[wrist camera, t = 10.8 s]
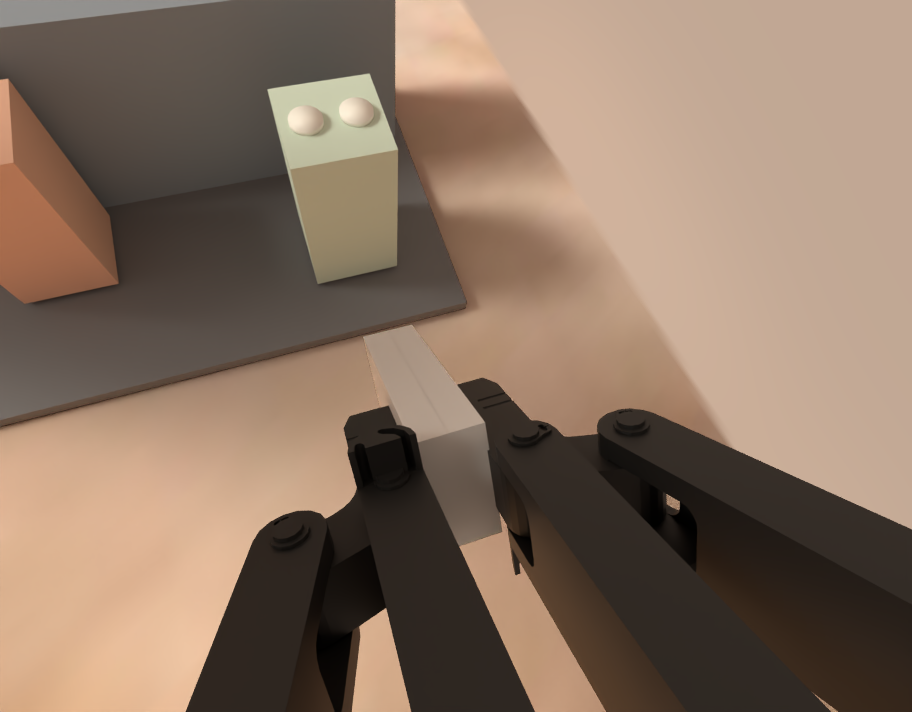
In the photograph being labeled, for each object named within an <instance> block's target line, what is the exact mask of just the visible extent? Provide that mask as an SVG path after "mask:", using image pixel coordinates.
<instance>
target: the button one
mask: <svg viewBox="0 0 912 712" xmlns="http://www.w3.org/2000/svg"><path fill="white" fill-rule="evenodd" d="M115 284H119V281H118V274H117V267H116V259H115V252H114V244H113V237H112V229H111V222H110V215H109V214H108V213H107V211H106V210H105V209H104V207H103V206H102V205H101V203H100V202H99V201H98V199H97V198H96V197H95V195H94V194H93V193H92V191H91V190H90V188H89V187H88V186H87V184H86V183H85V182H84V180H83V179H82V178H81V176H80V175H79V174H78V172H77V171H76V170H75V168H74V167H73V165H72V164H71V163H70V161H69V160H68V159H67V157H66V156H65V155H64V153H63V152H62V151H61V149H60V148H59V147H58V145H57V144H56V143H55V141H54V140H53V138H52V137H51V136H50V134H49V133H48V132H47V130H46V129H45V128H44V126H43V125H42V124H41V122H40V121H39V120H38V118H37V117H36V116H35V114H34V113H33V111H32V110H31V109H30V107H29V106H28V105H27V103H26V102H25V101H24V99H23V98H22V97H21V95H20V94H19V93H18V91H17V90H16V89H15V87H14V86H13V84H12V83H11V82H10V80H9V79H2V80H0V285H1V286H3V287H4V288H5V289H6V290H8V291H9V292H10V293H11V294H13V295H14V296H15V297H16V298H18V299H19V300H20V301H21V302H23V303H24V304H26V303H31V302H36V301H40V300H45V299H50V298H54V297H59V296H64V295H68V294H73V293H78V292H82V291H87V290H92V289H96V288H101V287H106V286H110V285H115Z"/></svg>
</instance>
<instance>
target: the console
mask: <svg viewBox="0 0 912 712" xmlns="http://www.w3.org/2000/svg"><path fill="white" fill-rule="evenodd" d="M363 74H370V76H371V79H372V82H373V84H374V87H375V90H376V92H377V95H378V98H379V100H380V103H381V106H382V108H383V111H384V114H385V116H386V119H387V122H388V124H389V127H390V130H391V132H392V135H393V138H394V140H395V143H396V146H397V148H398V210H397V266H394V267H390V268H385V269H381V270H377V271H372V272H368V273H364V274H359V275H355V276H351V277H346V278H342V279H338V280H333V281H329V282H325V283H320V284H318V283H317V279H316V276H315V272H314V269H313V265H312V262H311V258H310V254H309V251H308V247H307V244H306V240H305V237H304V233H303V229H302V226H301V222H300V219H299V215H298V211H297V207H296V203H295V199H294V195H293V191H292V187H291V183H290V179H289V175H288V170H287V166H286V162H285V158H284V154H283V150H282V146H281V142H280V138H279V134H278V130H277V126H276V122H275V118H274V114H273V110H272V106H271V102H270V98H269V94H268V90H267V89H272V88H278V87H285V86H291V85H298V84H304V83H311V82H317V81H324V80H331V79H337V78H344V77H350V76H357V75H363ZM2 79H9V80H10V82H11V83H12V84H13V86H14V87H15V89H16V90H17V91H18V93H19V94H20V95H21V97H22V98H23V99H24V101H25V102H26V103H27V105H28V106H29V107H30V109H31V110H32V111H33V113H34V114H35V116H36V117H37V118H38V120H39V121H40V122H41V124H42V125H43V126H44V128H45V129H46V130H47V132H48V133H49V134H50V136H51V137H52V138H53V140H54V141H55V143H56V144H57V145H58V147H59V148H60V149H61V151H62V152H63V153H64V155H65V156H66V157H67V159H68V160H69V161H70V163H71V164H72V165H73V167H74V168H75V170H76V171H77V172H78V174H79V175H80V176H81V178H82V179H83V180H84V182H85V183H86V184H87V186H88V187H89V188H90V190H91V191H92V193H93V194H94V195H95V197H96V198H97V199H98V201H99V202H100V203H101V205H102V206H103V207H104V209H105V210H106V211H107V213H108V214H109V215H110V222H111V229H112V237H113V244H114V252H115V259H116V267H117V274H118V281H119V284H115V285H110V286H106V287H101V288H96V289H92V290H87V291H82V292H78V293H73V294H68V295H64V296H59V297H54V298H50V299H45V300H40V301H36V302H31V303H26V304H24V303H23V302H21V301H20V300H19V299H18V298H16V297H15V296H14V295H13V294H11V293H10V292H9V291H8V290H6V289H5V288H4V287H3V286H1V285H0V427H1V426H5V425H9V424H13V423H17V422H20V421H24V420H28V419H32V418H36V417H40V416H44V415H48V414H52V413H56V412H60V411H64V410H68V409H72V408H75V407H79V406H83V405H87V404H91V403H95V402H99V401H103V400H107V399H111V398H115V397H119V396H123V395H127V394H130V393H134V392H138V391H142V390H146V389H150V388H154V387H158V386H162V385H166V384H170V383H174V382H178V381H182V380H185V379H189V378H193V377H197V376H201V375H205V374H209V373H213V372H217V371H221V370H225V369H229V368H233V367H237V366H240V365H244V364H248V363H252V362H256V361H260V360H264V359H268V358H272V357H276V356H280V355H284V354H288V353H292V352H295V351H299V350H303V349H307V348H311V347H315V346H319V345H323V344H327V343H331V342H335V341H339V340H343V339H347V338H350V337H354V336H358V335H362V334H366V333H370V332H374V331H378V330H382V329H386V328H390V327H394V326H398V325H402V324H405V323H409V322H413V321H417V320H421V319H425V318H429V317H433V316H437V315H441V314H445V313H449V312H453V311H457V310H460V309H464V308H466V304H467V301H466V299H465V296H464V293H463V291H462V288H461V286H460V283H459V280H458V278H457V275H456V273H455V270H454V267H453V265H452V262H451V260H450V257H449V254H448V252H447V249H446V247H445V244H444V241H443V239H442V236H441V234H440V231H439V228H438V226H437V223H436V221H435V218H434V215H433V213H432V210H431V208H430V205H429V202H428V200H427V197H426V195H425V192H424V189H423V187H422V184H421V182H420V179H419V176H418V174H417V171H416V169H415V166H414V163H413V161H412V158H411V156H410V153H409V150H408V148H407V145H406V143H405V140H404V137H403V135H402V132H401V130H400V127H399V124H398V122H397V119H396V117H395V0H0V80H2Z"/></svg>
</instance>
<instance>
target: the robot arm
mask: <svg viewBox="0 0 912 712" xmlns="http://www.w3.org/2000/svg"><path fill="white" fill-rule="evenodd" d="M363 339H364V343H365V347H366V352H367V356H368V360H369V364H370V368H371V372H372V377H373V381H374V385H375V389H376V393H377V398H378V402H379V406H380V408H378V409H374V410H370V411H367V412H363V413H360V414H356V415H352V416H350V417H349V419H348V421H347V423H346V425H345V427H344V432H345V436H346V440H347V444H348V457H349V460H350V464H351V468H352V471H353V475H354V478H355V482H356V486H357V490H356V493H355V495H354V497H353V498H352V500H351V501H350V502H349V503H348V504H347V505H346V506H345V507H344V508H343V509H341V510H340V511H338V512H337V513H335V514H333V515H332V516H330V517H328V518H326V519H325V518H324V517H323V516H322V515H321V514H320V513H317V512H313V511H296V512H292V513H289V514H285V515H282V516H281V517H279V518H277V519H275V520H273V521H271V522H270V523H268V524H267V525H266V526H265V527H264V528H263V529H261V530H260V531H259V533H258V534H257V536H256V537H255V539H254V540H253V542H252V545H251V547H250V550H249V552H248V555H247V557H246V560H245V563H244V565H243V568H242V570H241V573H240V575H239V578H238V580H237V583H236V585H235V588H234V590H233V593H232V595H231V598H230V601H229V603H228V606H227V608H226V611H225V613H224V616H223V618H222V621H221V623H220V626H219V628H218V631H217V634H216V636H215V639H214V641H213V644H212V646H211V649H210V651H209V654H208V656H207V659H206V661H205V664H204V666H203V669H202V672H201V674H200V677H199V679H198V682H197V684H196V687H195V689H194V692H193V694H192V697H191V699H190V702H189V705H188V707H187V710H186V712H352V703H353V695H354V686H355V677H356V669H357V660H358V651H359V643H360V629H359V626H360V625H361V624H363V623H364V622H366V621H367V620H369V619H370V618H372V617H373V616H375V615H376V614H378V613H379V612H381V611H382V610H384V609H385V608H386V609H387V613H388V617H389V621H390V625H391V629H392V633H393V638H394V642H395V646H396V650H397V654H398V658H399V662H400V666H401V670H402V675H403V679H404V683H405V687H406V691H407V695H408V699H409V703H410V708H411V712H535V711H534V709H533V707H532V704H531V702H530V700H529V698H528V696H527V693H526V691H525V689H524V687H523V685H522V683H521V680H520V678H519V676H518V674H517V672H516V670H515V667H514V665H513V663H512V661H511V659H510V656H509V654H508V652H507V650H506V648H505V646H504V643H503V641H502V639H501V637H500V635H499V632H498V630H497V628H496V626H495V624H494V622H493V619H492V617H491V615H490V613H489V611H488V609H487V606H486V604H485V602H484V600H483V598H482V595H481V593H480V591H479V589H478V587H477V585H476V582H475V580H474V578H473V576H472V574H471V571H470V569H469V567H468V565H467V563H466V561H465V558H464V556H463V554H462V552H461V550H460V548H459V546H462V545H464V544H467V543H470V542H473V541H476V540H479V539H482V538H485V537H488V536H491V535H494V534H497V533H500V532H502V528H501V521H500V515H499V512H500V514H501V516H502V517H503V519H504V521H505V522H506V524H507V528H508V535H509V541H510V548H511V554H512V561H513V567H514V571H515V575H518V574H520V567H519V563H521V565H522V566H523V568H524V570H525V572H526V573H527V575H528V577H529V579H530V580H531V582H532V584H533V586H534V587H535V589H536V591H537V592H538V594H539V596H540V598H541V599H542V601H543V603H544V605H545V606H546V608H547V610H548V611H549V613H550V615H551V617H552V618H553V620H554V622H555V624H556V625H557V627H558V629H559V631H560V632H561V634H562V636H563V637H564V639H565V641H566V643H567V644H568V646H569V648H570V650H571V651H572V653H573V655H574V657H575V658H576V660H577V662H578V663H579V665H580V667H581V669H582V670H583V672H584V674H585V676H586V677H587V679H588V681H589V682H590V684H591V686H592V688H593V689H594V691H595V693H596V695H597V696H598V698H599V700H600V702H601V703H602V705H603V707H604V708H605V710H606V712H831V711H830V710H829V709H828V708H827V707H826V706H825V705H824V704H823V703H822V702H821V701H820V700H819V699H818V698H817V697H816V696H815V695H814V694H816V695H817V696H818V697H820V698H821V699H822V700H824V701H825V702H826V703H828V704H829V705H830V706H832V707H833V708H834V709H836V710H837V711H838V712H912V530H911V529H909V528H907V527H905V526H903V525H901V524H898V523H896V522H894V521H892V520H890V519H887V518H885V517H883V516H881V515H878V514H876V513H874V512H872V511H870V510H867V509H865V508H863V507H861V506H858V505H856V504H854V503H852V502H850V501H847V500H845V499H843V498H841V497H838V496H836V495H834V494H832V493H829V492H827V491H825V490H823V489H821V488H819V487H816V486H814V485H812V484H810V483H808V482H805V481H803V480H801V479H799V478H796V477H794V476H792V475H790V474H787V473H785V472H783V471H781V470H779V469H776V468H774V467H772V466H770V465H768V464H765V463H763V462H761V461H759V460H756V459H754V458H752V457H750V456H748V455H745V454H743V453H741V452H739V451H737V450H734V449H732V448H730V447H728V446H725V445H723V444H721V443H719V442H717V441H714V440H712V439H710V438H708V437H705V436H703V435H701V434H699V433H697V432H694V431H692V430H690V429H688V428H686V427H683V426H681V425H679V424H677V423H674V422H672V421H670V420H668V419H666V418H663V417H661V416H659V415H657V414H654V413H651V412H648V411H645V410H638V409H621V410H617V411H614V412H611V413H608V414H606V415H605V416H603V417H602V418H601V419H600V420H599V422H598V424H597V433H598V434H595V435H586V436H574V437H564V436H563V435H562V434H561V433H560V432H559V431H558V430H557V429H556V428H555V427H553V426H552V425H550V424H548V423H545V422H541V421H531V420H530V419H529V418H528V417H527V416H526V415H525V413H524V412H523V411H522V410H521V409H520V408H519V407H518V406H517V405H516V404H515V403H514V401H512V400H511V398H510V397H509V396H508V395H507V394H505V392H504V391H503V389H502V388H501V387H500V386H499V385H498V384H497V383H495V382H492V381H490V380H487V379H484V378H480V379H476V380H473V381H469V382H465V383H462V384H458V385H457V384H456V383H455V382H454V380H453V379H452V377H451V376H450V375H449V373H448V372H447V371H446V369H445V368H444V367H443V365H442V364H441V363H440V361H439V360H438V359H437V357H436V356H435V355H434V353H433V352H432V351H431V349H430V348H429V347H428V345H427V344H426V343H425V341H424V340H423V339H422V337H421V336H420V335H419V333H418V332H417V331H416V329H415V328H414V327H413V325H408V326H404V327H400V328H396V329H392V330H388V331H384V332H380V333H376V334H372V335H368V336H364V337H363ZM666 494H668V495H669V496H671V497H673V498H675V499H676V500H678V501H680V510H676V509H674V508H672V507H670V506H669V505H667V504H666ZM811 691H812V692H813V693H814V694H813V693H812V692H811Z"/></svg>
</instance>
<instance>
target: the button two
mask: <svg viewBox="0 0 912 712" xmlns="http://www.w3.org/2000/svg"><path fill="white" fill-rule="evenodd" d="M267 90H268V94H269V98H270V102H271V106H272V110H273V114H274V118H275V122H276V126H277V130H278V134H279V138H280V142H281V146H282V150H283V154H284V158H285V162H286V166H287V170H288V175H289V179H290V183H291V187H292V191H293V195H294V199H295V203H296V207H297V211H298V215H299V219H300V222H301V226H302V229H303V233H304V237H305V240H306V244H307V247H308V251H309V254H310V258H311V262H312V265H313V269H314V272H315V276H316V279H317V283H318V284H320V283H325V282H329V281H333V280H338V279H342V278H346V277H351V276H355V275H359V274H364V273H368V272H372V271H377V270H381V269H385V268H390V267H394V266H397V210H398V148H397V146H396V143H395V140H394V138H393V135H392V132H391V130H390V127H389V124H388V122H387V119H386V116H385V114H384V111H383V108H382V106H381V103H380V100H379V98H378V95H377V92H376V90H375V87H374V84H373V82H372V79H371V76H370V74H363V75H357V76H350V77H344V78H337V79H331V80H324V81H317V82H311V83H304V84H298V85H291V86H285V87H278V88H272V89H267Z"/></svg>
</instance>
